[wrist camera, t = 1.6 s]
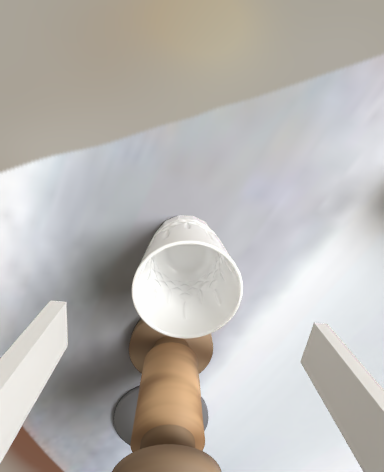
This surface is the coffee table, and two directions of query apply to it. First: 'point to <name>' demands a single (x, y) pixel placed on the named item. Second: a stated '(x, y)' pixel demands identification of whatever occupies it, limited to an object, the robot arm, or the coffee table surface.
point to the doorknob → (168, 404)
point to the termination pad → (127, 414)
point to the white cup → (186, 280)
